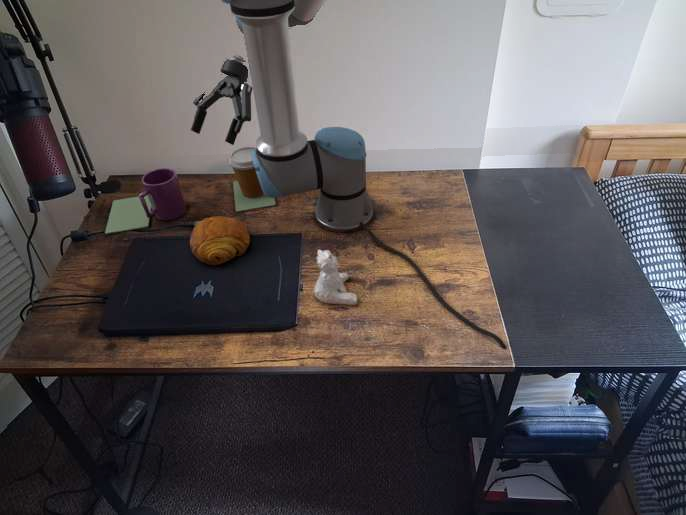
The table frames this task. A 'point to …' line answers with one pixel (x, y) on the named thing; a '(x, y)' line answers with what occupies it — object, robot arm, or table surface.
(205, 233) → the croissant
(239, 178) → the disposable coffee cup
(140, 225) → the mug mat
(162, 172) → the plum mug
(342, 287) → the white creature statuette
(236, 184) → the cup mat
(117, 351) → the table surface
